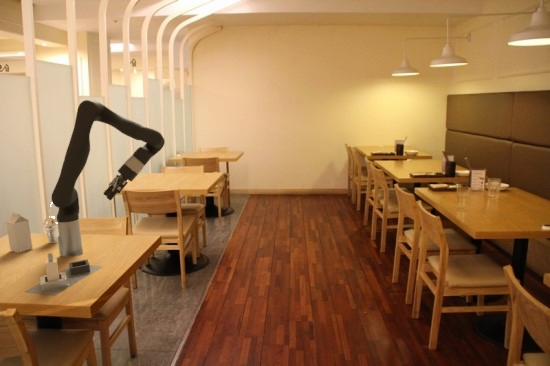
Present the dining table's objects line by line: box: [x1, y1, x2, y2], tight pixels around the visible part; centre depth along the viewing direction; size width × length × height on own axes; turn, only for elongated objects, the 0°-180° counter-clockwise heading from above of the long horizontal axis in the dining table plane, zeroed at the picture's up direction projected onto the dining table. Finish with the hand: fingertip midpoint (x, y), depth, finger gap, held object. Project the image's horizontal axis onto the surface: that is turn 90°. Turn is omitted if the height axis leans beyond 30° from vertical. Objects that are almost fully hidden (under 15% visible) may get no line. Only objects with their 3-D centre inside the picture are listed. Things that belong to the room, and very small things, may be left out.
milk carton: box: [5, 212, 33, 254], centre depth 209 cm, size 7×7×19 cm
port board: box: [24, 264, 104, 296], centre depth 172 cm, size 14×28×2 cm, turn 165°
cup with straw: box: [42, 202, 59, 244], centre depth 220 cm, size 8×9×20 cm
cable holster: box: [68, 259, 90, 275], centre depth 179 cm, size 7×7×3 cm
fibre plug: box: [44, 252, 60, 282], centre depth 164 cm, size 4×4×13 cm
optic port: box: [39, 271, 69, 292], centre depth 165 cm, size 9×9×3 cm
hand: (106, 197), depth 184 cm, fingers open, 8 cm apart
